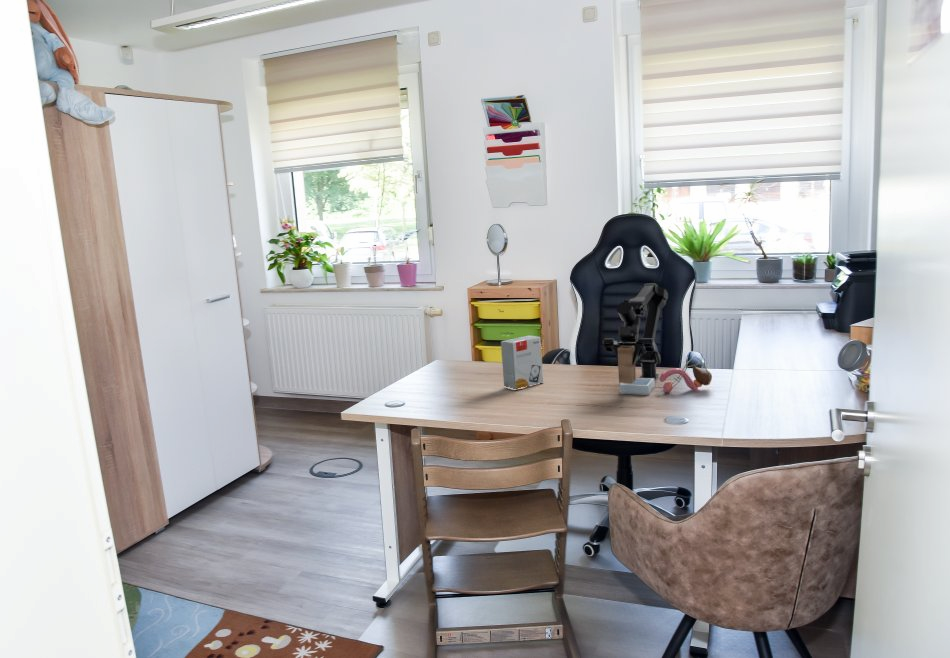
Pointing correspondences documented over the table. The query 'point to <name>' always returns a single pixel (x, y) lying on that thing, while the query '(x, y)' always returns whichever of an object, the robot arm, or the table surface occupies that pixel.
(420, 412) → the table surface
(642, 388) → the bin
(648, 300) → the robot arm
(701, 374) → the anatomy model
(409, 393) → the table surface
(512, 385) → the hard drive box
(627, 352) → the walnut block
